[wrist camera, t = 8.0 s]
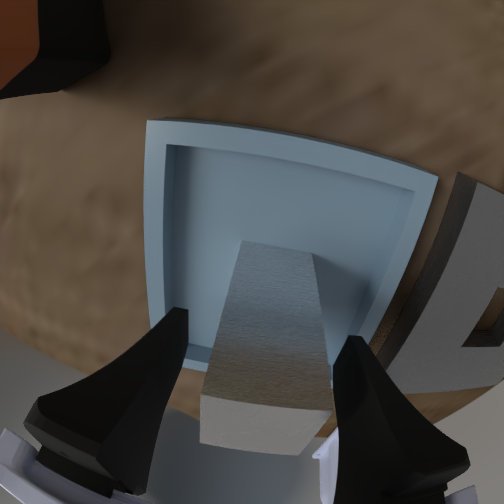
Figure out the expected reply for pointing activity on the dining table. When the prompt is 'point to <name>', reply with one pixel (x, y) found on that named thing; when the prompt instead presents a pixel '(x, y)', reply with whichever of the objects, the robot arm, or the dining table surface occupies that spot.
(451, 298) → the pin plate
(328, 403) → the pin
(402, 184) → the tray
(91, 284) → the dining table surface
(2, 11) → the battery
